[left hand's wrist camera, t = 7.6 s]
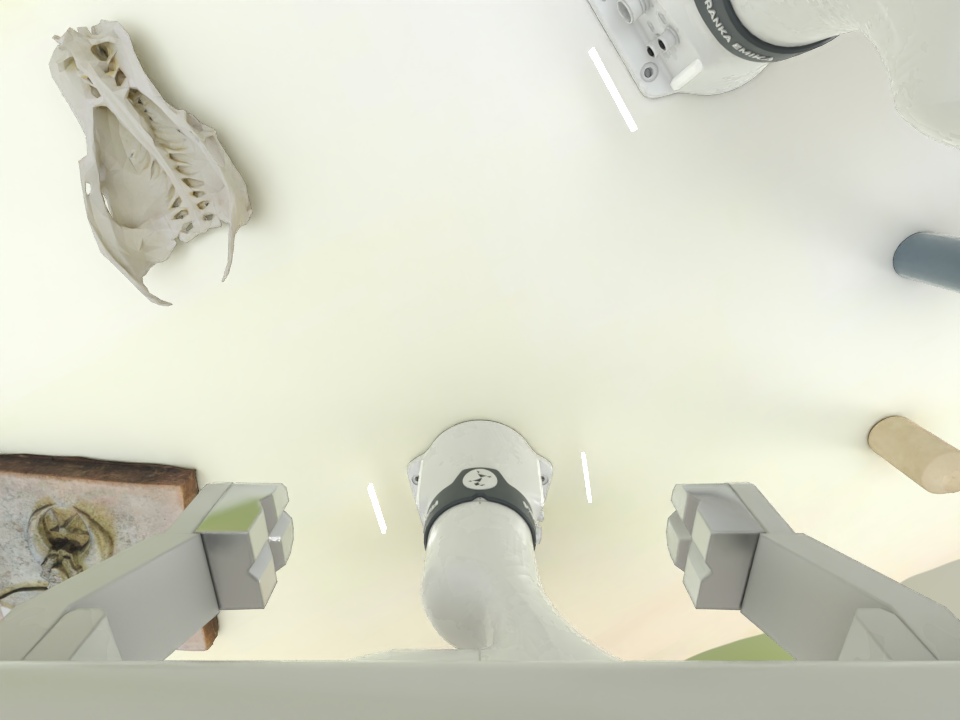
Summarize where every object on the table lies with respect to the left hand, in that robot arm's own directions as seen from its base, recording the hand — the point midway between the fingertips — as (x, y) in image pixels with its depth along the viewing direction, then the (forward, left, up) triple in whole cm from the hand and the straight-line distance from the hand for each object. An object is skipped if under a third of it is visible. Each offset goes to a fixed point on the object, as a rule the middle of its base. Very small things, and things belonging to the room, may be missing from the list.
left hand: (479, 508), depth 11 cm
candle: (-26, -52, -48) cm, 75 cm away
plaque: (-44, +53, -48) cm, 84 cm away
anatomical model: (+6, +32, -48) cm, 58 cm away
